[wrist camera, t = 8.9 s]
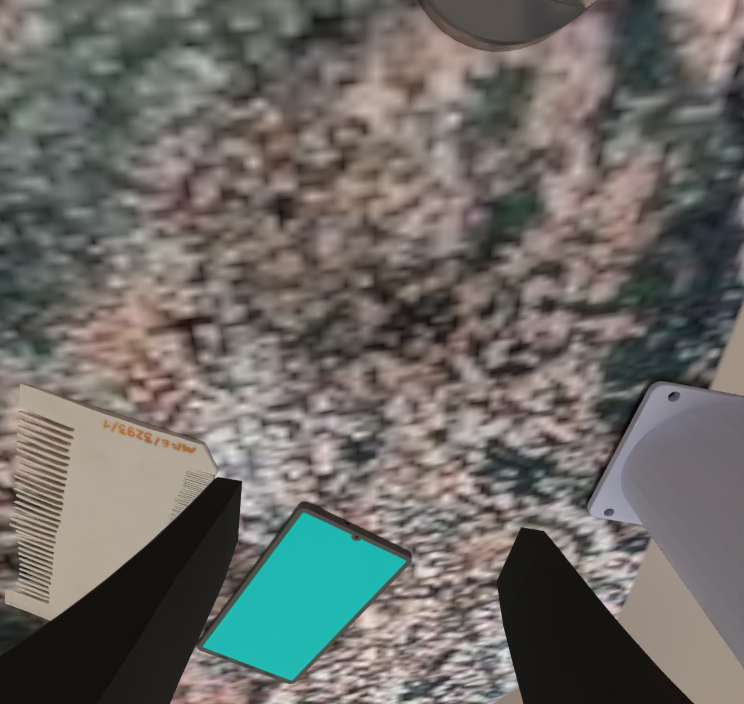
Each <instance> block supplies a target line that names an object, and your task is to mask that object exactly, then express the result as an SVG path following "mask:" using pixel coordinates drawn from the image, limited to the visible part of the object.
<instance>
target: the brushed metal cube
mask: <svg viewBox="0 0 744 704" xmlns="http://www.w3.org/2000/svg"><path fill="white" fill-rule="evenodd" d="M545 1H550V2H555V3H559V4H564V5H569V6H573V7H578V8H583V9H586V8H587V7H588V6H590V5H591V4H592V3H594V2H595V1H596V0H545Z"/></svg>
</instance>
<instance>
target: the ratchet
mask: <svg viewBox="0 0 744 704" xmlns="http://www.w3.org/2000/svg"><path fill="white" fill-rule="evenodd" d="M418 1H419V3H420V4H421V6H422V8H423V9H424V11H425V12H426V13H427V14H428V16H429V17H430V18H431V19H432V21H433V22H434V23H435V24H436V25H437V26H438V27H439V28H440V29H442V30H443V31H444V32H445V33H446V34H448V35H449V36H451V37H452V38H454V39H455V40H457V41H459V42H461V43H463V44H465V45H467V46H470V47H473V48H477V49H480V50H487V51H511V50H516V49H522V48H525V47H528V46H531V45H534V44H536V43H538V42H540V41H542V40H544V39H546V38H548V37H550V36H552V35H553V34H555V33H556V32H558V31H559V30H561V29H562V28H564V27H565V26H566V25H567V24H569V23H570V22H571V21H573V20H574V19H575V18H577V17H578V16H579V15H581V14H582V13H583V12H584V11H586V10H587V9H588V8H589V7H590V6H591V5H593V4H594V3H595V2H596V1H597V0H596V1H595V2H594V3H592V4H591V5H590V6H588V7H587V8H586V9H583V8H578V7H573V6H569V5H564V4H559V3H555V2H550V1H545V0H418Z"/></svg>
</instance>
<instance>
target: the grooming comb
mask: <svg viewBox="0 0 744 704" xmlns="http://www.w3.org/2000/svg"><path fill="white" fill-rule="evenodd" d="M19 406H21V407H22V408H24V409H27V410H29V411H31V412H34V413H36V414H39V415H41V416H44V417H46V418H48V419H51V420H53V421H56V422H58V423H61V424H64V425H66V426H69V427H71V428H68V427H65V426H63V425H59V424H56V423H54V422H51V421H48V420H45V419H42V418H40V417H37V416H34V415H31V414H28V413H24V412H21V411H19V413H18V414H20V415H22V416H24V417H27V418H29V419H31V420H34V421H36V422H39V423H41V424H44V425H46V426H49V427H51V428H54V429H56V430H59V431H61V432H64V433H67V434H64V433H61V432H58V431H55V430H53V429H50V428H47V427H44V426H41V425H38V424H34V423H31V422H28V421H25V420H22V419H18V421H19V422H21V423H23V424H26V425H28V426H31V427H33V428H35V429H37V430H40V431H42V432H45V433H47V434H50V435H52V436H55V437H57V438H60V439H63V440H65V441H68V442H70V443H68V442H65V441H62V440H59V439H57V438H54V437H51V436H48V435H45V434H42V433H39V432H36V431H33V430H30V429H27V428H24V427H21V426H18V429H20V430H22V431H24V432H27V433H29V434H31V435H34V436H36V437H38V438H41V439H43V440H46V441H48V442H51V443H53V444H56V445H58V446H61V447H64V448H66V449H64V448H61V447H58V446H56V445H53V444H50V443H47V442H44V441H41V440H38V439H35V438H32V437H29V436H26V435H23V434H20V433H17V436H18V437H20V438H23V439H25V440H27V441H30V442H32V443H35V444H37V445H39V446H42V447H44V448H47V449H50V450H52V451H55V452H57V453H60V454H63V455H65V456H63V455H60V454H57V453H54V452H52V451H48V450H45V449H42V448H39V447H37V446H34V445H30V444H27V443H23V442H20V441H16V445H19V446H21V447H24V448H26V449H29V450H32V451H34V452H37V453H40V454H42V455H45V456H47V457H50V458H53V459H56V460H58V461H61V462H64V463H67V464H64V463H61V462H58V461H55V460H53V459H50V458H47V457H43V456H41V455H38V454H35V453H32V452H29V451H26V450H23V449H19V448H16V450H17V451H19V452H21V453H24V454H26V455H29V456H31V457H33V458H36V459H38V460H41V461H43V462H46V463H48V464H50V465H53V466H56V467H58V468H61V469H63V470H61V469H58V468H55V467H52V466H49V465H46V464H44V463H41V462H38V461H35V460H32V459H29V458H26V457H23V456H19V455H16V457H17V458H19V459H21V460H23V461H26V462H28V463H30V464H33V465H35V466H38V467H40V468H43V469H45V470H48V471H50V472H53V473H55V474H57V475H55V474H52V473H49V472H46V471H43V470H40V469H37V468H34V467H31V466H28V465H25V464H22V463H19V462H16V464H17V465H19V466H21V467H23V468H26V469H28V470H30V471H33V472H35V473H38V474H40V475H42V476H45V477H47V478H50V479H53V480H56V481H59V482H61V483H64V484H66V485H64V484H61V483H58V482H56V481H53V480H50V479H47V478H44V477H41V476H38V475H35V474H32V473H29V472H26V471H23V470H19V469H15V470H16V471H18V472H20V473H23V474H25V475H27V476H29V477H32V478H34V479H36V480H39V481H41V482H44V483H46V484H49V485H51V486H54V487H57V488H60V489H62V490H64V491H62V490H59V489H56V488H53V487H50V486H47V485H44V484H41V483H39V482H36V481H33V480H30V479H27V478H24V477H21V476H18V475H14V477H16V478H19V479H21V480H23V481H26V482H28V483H31V484H33V485H36V486H38V487H41V488H44V489H46V490H49V491H52V492H54V493H57V494H59V495H57V494H53V493H50V492H47V491H44V490H41V489H38V488H35V487H32V486H29V485H26V484H23V483H20V482H15V483H16V484H18V485H20V486H23V487H25V488H28V489H30V490H32V491H35V492H37V493H40V494H42V495H44V496H47V497H49V498H52V499H55V500H58V501H61V502H62V503H61V502H58V501H55V500H52V499H49V498H46V497H43V496H40V495H37V494H33V493H30V492H27V491H24V490H21V489H18V488H14V489H15V490H18V491H20V492H22V493H25V494H27V495H29V496H32V497H34V498H37V499H39V500H42V501H44V502H47V503H49V504H52V505H55V506H58V507H60V508H58V507H55V506H52V505H49V504H46V503H43V502H40V501H37V500H35V499H32V498H29V497H25V496H22V495H18V494H16V496H17V497H19V498H21V499H24V500H26V501H29V502H31V503H33V504H36V505H38V506H41V507H43V508H46V509H48V510H51V511H48V510H45V509H42V508H39V507H36V506H32V505H29V504H26V503H22V502H19V501H15V503H17V504H20V505H22V506H24V507H27V508H29V509H32V510H34V511H37V512H40V513H42V514H45V515H47V516H50V517H47V516H44V515H41V514H38V513H35V512H32V511H29V510H25V509H22V508H19V507H14V508H16V509H19V510H21V511H23V512H26V513H28V514H31V515H33V516H36V517H38V518H41V519H43V520H46V521H49V522H52V523H49V522H46V521H43V520H39V519H36V518H33V517H30V516H27V515H23V514H20V513H16V512H13V513H14V514H15V515H17V516H19V517H22V518H24V519H27V520H29V521H32V522H35V523H37V524H40V525H43V526H46V527H48V528H46V527H43V526H40V525H36V524H33V523H30V522H27V521H23V520H20V519H16V518H13V517H11V520H14V521H16V522H18V523H21V524H23V525H26V526H29V527H32V528H34V529H37V530H40V531H43V532H40V531H37V530H33V529H30V528H27V527H23V526H20V525H16V524H12V523H10V526H13V527H16V528H18V529H21V530H24V531H26V532H29V533H32V534H35V535H38V536H41V537H44V538H41V537H38V536H35V535H32V534H29V533H25V532H22V531H19V530H16V532H18V533H21V534H23V535H25V536H28V537H30V538H33V539H35V540H38V541H41V542H43V543H46V544H48V545H46V544H43V543H40V542H36V541H33V540H30V539H26V538H23V537H20V536H16V537H17V538H20V539H22V540H24V541H27V542H29V543H32V544H34V545H37V546H39V547H42V548H44V549H42V548H39V547H35V546H32V545H28V544H25V543H22V542H19V541H18V543H19V544H21V545H23V546H26V547H28V548H31V549H33V550H35V551H38V552H41V553H43V554H41V553H38V552H34V551H31V550H28V549H24V548H21V547H19V548H18V549H20V550H23V551H25V552H28V553H30V554H33V555H35V556H38V557H40V558H43V559H45V560H43V559H40V558H37V557H33V556H30V555H27V554H23V553H20V552H19V553H18V554H20V555H22V556H25V557H27V558H29V559H32V560H34V561H37V562H39V563H36V562H33V561H29V560H26V559H22V558H19V559H20V560H22V561H24V562H27V563H29V564H32V565H34V566H37V567H39V568H42V569H44V570H42V569H39V568H35V567H32V566H28V565H25V564H20V565H21V566H24V567H26V568H29V569H31V570H34V571H36V572H38V573H35V572H32V571H28V570H25V569H21V568H20V570H22V571H25V572H27V573H29V574H32V575H34V576H37V577H39V578H36V577H33V576H29V575H26V574H22V573H20V574H19V575H22V576H24V577H27V578H29V579H32V580H34V581H37V582H39V583H41V584H39V583H35V582H32V581H28V580H24V579H20V578H19V579H18V580H20V581H23V582H25V583H28V584H30V585H33V586H35V587H38V588H35V587H32V586H29V585H25V584H21V583H17V582H16V583H15V584H17V585H20V586H22V587H25V588H27V589H30V590H32V591H35V592H37V593H35V592H32V591H28V590H25V589H19V590H21V591H24V592H27V593H29V594H32V595H34V596H37V597H40V598H42V599H40V598H36V597H33V596H30V595H26V594H23V593H19V592H16V591H11V590H8V591H6V594H5V603H6V604H8V605H13V606H14V607H17V608H19V609H22V610H25V611H27V612H30V613H33V614H35V615H38V616H40V617H43V618H45V619H48V620H50V621H51V620H52V619H54V618H55V617H57V616H58V615H59V614H61V613H62V612H63V611H65V610H66V609H68V608H69V607H70V606H72V605H73V604H74V603H76V602H77V601H78V600H80V599H81V598H82V597H84V596H85V595H86V594H88V593H89V592H90V591H91V590H93V589H94V588H95V587H97V586H98V585H99V584H100V583H102V582H103V581H104V580H105V579H107V578H108V577H109V576H110V575H112V574H113V573H114V572H115V571H116V570H118V569H119V568H120V567H121V566H122V565H123V564H125V563H126V562H127V561H128V560H129V559H131V558H132V557H133V556H134V555H135V554H137V553H138V552H139V551H140V550H141V549H142V548H144V547H145V546H146V545H147V544H148V543H149V542H150V541H151V540H152V539H154V538H155V537H156V536H157V535H158V534H159V533H160V532H161V531H162V530H163V529H164V528H165V527H167V526H168V525H169V524H170V523H171V522H172V521H173V520H174V519H175V518H176V517H177V516H178V515H179V514H180V513H181V512H182V511H183V510H184V509H185V508H186V507H187V506H188V505H189V504H190V503H191V502H192V501H193V500H194V499H195V498H196V497H197V496H198V495H199V494H200V493H201V492H202V491H203V490H204V489H205V488H206V487H207V486H208V485H209V484H210V483H211V482H212V481H213V480H214V478H215V475H216V474H217V471H218V467H217V465H216V463H215V462H214V460H213V458H212V456H211V454H210V452H209V450H208V448H207V446H206V445H205V443H204V442H202V441H199V440H195V439H192V438H189V437H186V436H183V435H180V434H177V433H174V432H171V431H168V430H165V429H162V428H159V427H156V426H153V425H149V424H146V423H143V422H140V421H137V420H134V419H131V418H128V417H125V416H122V415H119V414H115V413H112V412H109V411H106V410H103V409H100V408H97V407H94V406H91V405H88V404H85V403H82V402H78V401H75V400H72V399H69V398H67V397H64V396H61V395H58V394H55V393H52V392H49V391H46V390H43V389H40V388H36V387H33V386H29V385H25V384H20V390H19ZM72 428H74V429H72ZM68 434H69V435H68ZM71 435H72V436H71ZM67 449H69V450H67ZM66 456H68V457H66ZM64 470H66V471H64ZM58 475H60V476H58ZM61 476H62V477H61ZM64 477H65V478H64ZM60 495H61V496H60ZM52 511H54V512H52ZM55 512H56V513H55ZM51 517H53V518H56V519H58V520H56V519H53V518H51ZM53 523H54V524H53ZM56 524H57V525H56ZM49 528H51V529H49ZM53 529H54V530H53ZM44 532H46V533H44ZM47 533H49V534H52V535H55V536H52V535H49V534H47ZM45 538H47V539H45ZM48 539H50V540H48ZM51 540H52V541H51ZM49 545H51V546H49ZM52 546H53V547H52ZM45 549H47V550H45ZM48 550H49V551H48ZM44 554H46V555H44ZM47 560H48V561H47ZM40 563H42V564H40ZM43 564H45V565H43ZM46 565H47V566H46ZM45 570H47V571H45ZM49 571H50V572H49ZM39 573H41V574H39ZM42 574H44V575H42ZM45 575H46V576H45ZM48 576H49V577H48ZM40 578H41V579H40ZM43 579H44V580H43ZM42 584H44V585H42ZM45 585H46V586H45ZM39 588H40V589H39ZM16 589H17V588H16ZM42 589H43V590H42ZM45 590H46V591H45ZM39 593H40V594H39ZM44 599H45V600H44ZM47 600H48V601H47Z"/></svg>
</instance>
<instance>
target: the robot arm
mask: <svg viewBox="0 0 744 704" xmlns="http://www.w3.org/2000/svg"><path fill="white" fill-rule="evenodd" d="M672 392H675V393H674V394H673V395H672V396H670V397H668V396H669V394H670V393H672ZM241 489H242V481H238V480H232V479H226V478H220V477H217V478H216V479H214V480H213V481H212V482H211V483H210V484H209V485H208V486H207V487H206V488H205V489H204V490H203V491H202V492H201V493H200V494H199V495H198V496H197V497H196V498H195V499H194V500H193V501H192V502H191V503H190V504H189V505H188V506H187V507H186V508H185V509H184V510H183V511H182V512H181V513H180V514H179V515H178V516H177V517H176V518H175V519H174V520H173V521H172V522H171V523H170V524H169V525H168V526H167V527H165V528H164V529H163V530H162V531H161V532H160V533H159V534H158V535H157V536H156V537H155V538H154V539H152V540H151V541H150V542H149V543H148V544H147V545H146V546H145V547H144V548H142V549H141V550H140V551H139V552H138V553H137V554H135V555H134V556H133V557H132V558H131V559H129V560H128V561H127V562H126V563H125V564H123V565H122V566H121V567H120V568H119V569H118V570H116V571H115V572H114V573H113V574H112V575H110V576H109V577H108V578H107V579H105V580H104V581H103V582H102V583H100V584H99V585H98V586H97V587H95V588H94V589H93V590H91V591H90V592H89V593H88V594H86V595H85V596H84V597H82V598H81V599H80V600H78V601H77V602H76V603H74V604H73V605H72V606H70V607H69V608H68V609H66V610H65V611H63V612H62V613H61V614H59V615H58V616H57V617H55V618H54V619H52V620H51V621H49V622H48V623H47V624H45V625H44V626H42V627H41V628H39V629H38V630H36V631H35V632H34V633H32V634H31V635H29V636H28V637H26V638H25V639H24V640H22V641H21V642H19V643H18V644H16V645H15V646H13V647H12V648H10V649H9V650H7V651H6V652H4V653H3V654H1V655H0V704H170V702H171V700H172V698H173V695H174V693H175V690H176V688H177V685H178V683H179V681H180V678H181V676H182V674H183V672H184V670H185V667H186V665H187V663H188V661H189V658H190V656H191V654H192V652H193V650H194V647H195V645H196V643H197V641H198V638H199V636H200V634H201V632H202V630H203V627H204V625H205V623H206V621H207V619H208V616H209V614H210V612H211V610H212V607H213V605H214V603H215V601H216V598H217V596H218V594H219V592H220V589H221V587H222V585H223V583H224V580H225V577H226V574H227V571H228V568H229V565H230V562H231V559H232V556H233V553H234V550H235V547H236V544H237V541H238V531H239V517H240V503H241ZM587 509H588V511H589V513H590V514H591V515H592V516H593V517H597V518H603V519H609V520H615V521H621V522H627V523H633V524H639V525H644V527H645V528H646V530H647V531H648V532H649V534H650V535H651V537H652V538H653V540H654V541H655V542H656V544H657V545H658V547H659V548H660V550H661V551H662V552H663V554H664V555H665V557H666V558H667V559H668V561H669V562H670V564H671V565H672V567H673V568H674V569H675V571H676V572H677V573H678V575H679V577H680V578H681V580H682V581H683V582H684V584H685V585H686V587H687V588H688V589H689V591H690V592H691V594H692V595H693V597H694V598H695V600H696V601H697V602H698V604H699V605H700V607H701V608H702V609H703V611H704V612H705V614H706V615H707V616H708V618H709V619H710V621H711V622H712V624H713V625H714V627H715V628H716V630H717V631H718V632H719V634H720V635H721V637H722V638H723V640H724V641H725V642H726V644H727V645H728V647H729V648H730V649H731V651H732V652H733V654H734V655H735V657H736V658H737V659H738V661H739V662H740V664H741V665H742V667H743V668H744V396H741V395H735V394H730V393H724V392H719V391H714V390H708V389H703V388H698V387H692V386H687V385H681V384H676V383H670V382H665V381H659V382H656V383H654V384H652V385H651V386H650V387H649V389H648V391H647V392H646V394H645V396H644V398H643V400H642V402H641V404H640V406H639V408H638V409H637V411H636V413H635V415H634V417H633V419H632V421H631V423H630V425H629V427H628V428H627V430H626V432H625V434H624V436H623V438H622V440H621V442H620V444H619V446H618V447H617V449H616V451H615V453H614V455H613V457H612V459H611V461H610V463H609V465H608V466H607V468H606V470H605V472H604V474H603V476H602V478H601V480H600V482H599V484H598V485H597V487H596V489H595V491H594V493H593V495H592V497H591V499H590V501H589V503H588V505H587ZM607 509H608V510H607ZM497 585H498V593H499V601H500V608H501V614H502V621H503V626H504V630H505V634H506V638H507V642H508V646H509V650H510V654H511V658H512V662H513V666H514V670H515V673H516V677H517V681H518V685H519V689H520V692H521V696H522V700H523V704H694V703H693V702H691V700H690V699H689V698H688V697H687V696H686V695H685V694H684V693H683V692H682V691H681V690H680V689H679V688H678V687H677V686H676V685H675V684H674V683H673V682H672V681H671V680H670V679H669V678H668V677H667V676H666V675H665V674H664V673H663V672H662V671H661V670H660V668H659V667H658V666H657V665H656V664H655V663H654V662H653V661H652V660H651V659H650V657H649V656H648V655H647V654H646V653H645V652H644V651H643V650H642V648H641V647H640V646H639V645H638V644H637V643H636V642H635V641H634V640H633V639H632V637H631V636H630V635H629V634H628V633H627V632H626V630H625V629H624V628H623V627H622V626H621V625H620V623H619V622H618V621H617V620H616V619H615V618H614V616H613V615H612V614H611V613H610V612H609V610H608V609H607V608H606V607H605V606H604V604H603V603H602V602H601V601H600V600H599V598H598V597H597V596H596V595H595V593H594V592H593V591H592V590H591V589H590V587H589V586H588V585H587V584H586V582H585V581H584V580H583V579H582V577H581V576H580V575H579V574H578V572H577V571H576V570H575V569H574V567H573V566H572V565H571V564H570V562H569V561H568V560H567V559H566V557H565V556H564V555H563V554H562V552H561V551H560V550H559V549H558V547H557V546H556V545H555V544H554V542H553V541H552V540H551V539H550V538H549V536H548V535H547V534H546V533H545V532H544V531H540V530H534V529H528V528H522V527H521V529H520V531H519V533H518V536H517V538H516V540H515V542H514V544H513V547H512V549H511V551H510V553H509V555H508V558H507V560H506V562H505V564H504V566H503V569H502V571H501V573H500V575H499V578H498V580H497Z"/></svg>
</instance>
